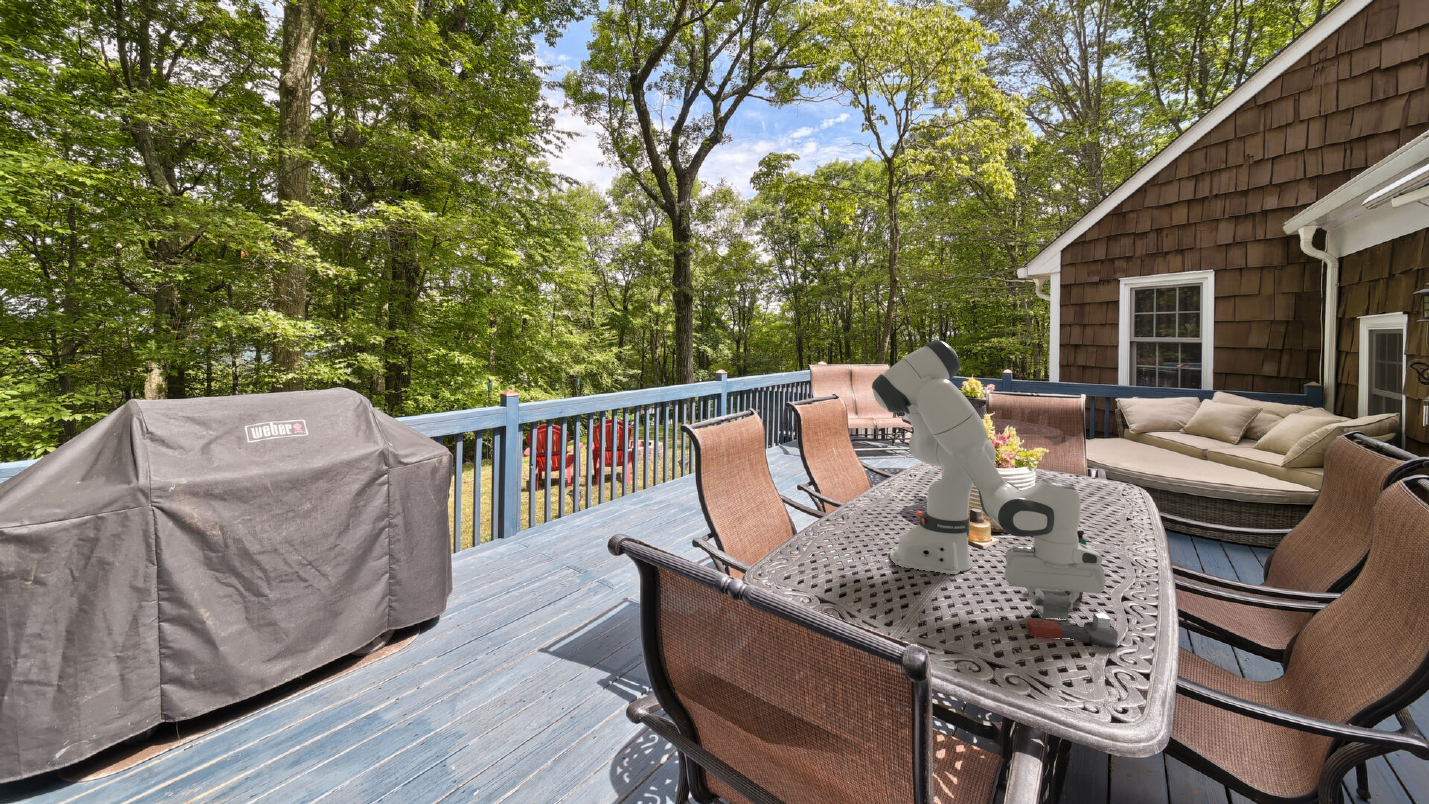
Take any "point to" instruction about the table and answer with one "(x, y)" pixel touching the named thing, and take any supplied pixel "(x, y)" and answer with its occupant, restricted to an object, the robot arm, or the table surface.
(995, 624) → the table surface
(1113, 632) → the ratchet
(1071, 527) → the robot arm
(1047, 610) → the silver metal block
